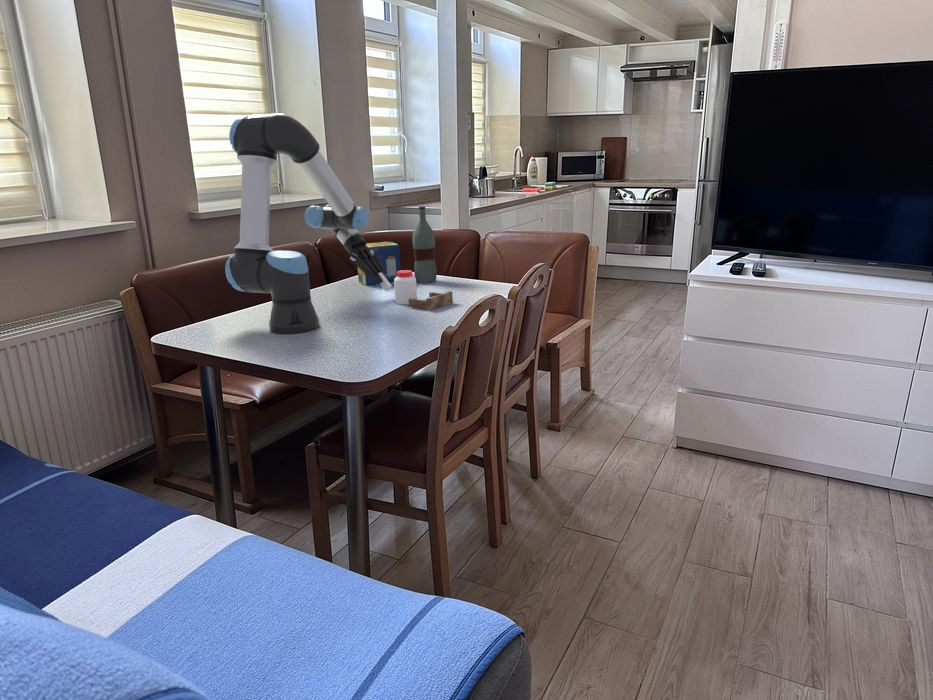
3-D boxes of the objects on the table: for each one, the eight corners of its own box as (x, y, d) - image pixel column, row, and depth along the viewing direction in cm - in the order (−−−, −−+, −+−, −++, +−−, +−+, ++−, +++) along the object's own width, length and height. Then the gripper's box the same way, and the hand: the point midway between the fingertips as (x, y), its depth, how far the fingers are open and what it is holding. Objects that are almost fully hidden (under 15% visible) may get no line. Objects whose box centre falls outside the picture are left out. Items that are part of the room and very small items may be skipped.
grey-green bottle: (434, 284, 262) (430, 207, 253) (412, 284, 264) (407, 208, 255) (439, 279, 271) (436, 205, 262) (418, 279, 272) (413, 205, 264)
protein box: (358, 282, 273) (355, 244, 268) (393, 277, 279) (390, 241, 274) (365, 286, 263) (362, 247, 259) (401, 281, 269) (399, 243, 265)
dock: (429, 310, 219) (428, 299, 218) (408, 307, 225) (407, 296, 223) (452, 302, 229) (452, 291, 228) (432, 300, 235) (431, 289, 233)
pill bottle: (416, 304, 230) (414, 273, 226) (394, 304, 230) (392, 273, 227) (418, 299, 237) (416, 269, 234) (396, 299, 237) (394, 269, 234)
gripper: (359, 244, 249) (395, 291, 244) (334, 249, 239) (371, 298, 234) (368, 230, 244) (405, 278, 240) (343, 235, 234) (381, 285, 230)
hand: (388, 288), depth 237 cm, fingers closed
